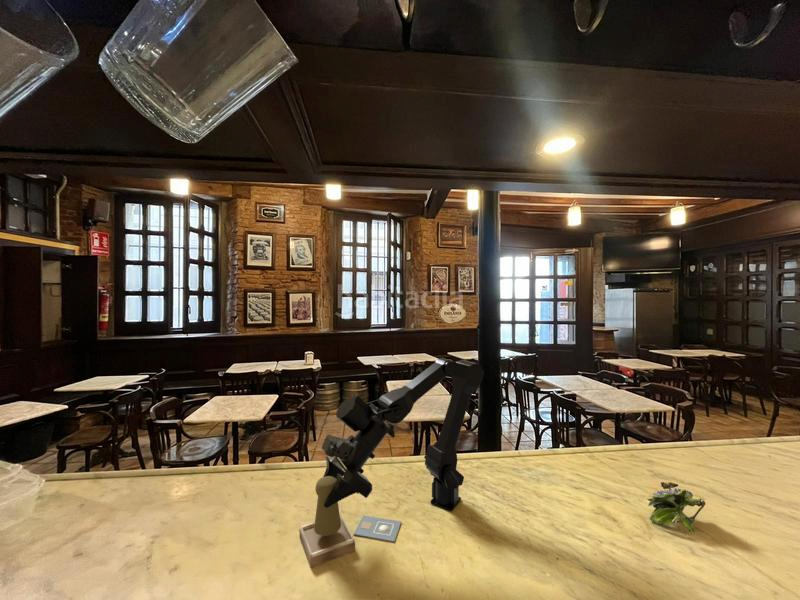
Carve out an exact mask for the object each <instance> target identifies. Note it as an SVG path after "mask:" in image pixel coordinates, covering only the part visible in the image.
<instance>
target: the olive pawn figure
mask: <svg viewBox="0 0 800 600" xmlns="http://www.w3.org/2000/svg"><path fill="white" fill-rule="evenodd" d="M336 483H337V479H336V478H335V477H332V476H325V477H323V476H322V477H320V478H319V479H318V480H317V481H316V484H315V493H316V495H317V501H316V502H317V503H316V510H315V517H314V522H315V525H314V530H315V532H316V533H317V534H318V535H322V536H329V535H332V534H334V533H336V532H337V531H338V530H339V529H340V527H341V521H340V515H341V513H340V508H339V501H338V502H337V503H335V504H333V505H331V506H329V507H328V508H326V507H324V505H323V504H324V502H325V501H326V499H327V497H328V496H329V494H330V493H331V491H332V489H333V488H334V486H335V485H336Z"/></svg>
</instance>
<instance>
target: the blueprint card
mask: <svg viewBox="0 0 800 600" xmlns="http://www.w3.org/2000/svg"><path fill="white" fill-rule="evenodd" d="M401 525H402V521H400V520H393V519H389V518H382V517H375V516H370V515H362V517H361V519H360V520H359V523H358V525H357V527H356V528H355V531H354V532H353V534H352V536H355V537H361V538H367V539H373V540H378V541H384V542H389V543H395V541H396V539H397V536H398V533H399V530H400V528H401Z"/></svg>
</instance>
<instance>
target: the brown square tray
mask: <svg viewBox="0 0 800 600" xmlns="http://www.w3.org/2000/svg"><path fill="white" fill-rule="evenodd" d="M340 521H341V527H340V529H339V530H338V531H337V532H336V533H334V534H332V535H329V536H322V535H318V534H317V533H316V532H315V530H314V525H315V521H314V522H311V523H307V524H304V525H302V526H299V540H300V543H301V545H302V548H303V551H304V554H305V557H306V560H307V561H308V565H309V568H313V567H316V566H318V565H321V564H324V563H327V562H329V561H332V560H335V559H338V558H340V557H342V556H345V555H347V554H350V553H354V552H355V551H356V541H355V538H354V535H353V534H352V532H351V530H350V529H349V527H348V526H347V523H346V522H345V519H344V518H343V517H342V515H341V514H340Z"/></svg>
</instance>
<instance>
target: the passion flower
mask: <svg viewBox="0 0 800 600" xmlns="http://www.w3.org/2000/svg"><path fill="white" fill-rule="evenodd" d="M660 487H661V488H663V489H664V490H662V489H661V490H660V491H659V490H656V492H653V493H652V496H651V498H650V497H646V500H647V501H649V502H648V505H647V507H650V506H652V507H653V508H654V509H653V511H652V512H651V514H650V516H649V521H650V520H651V521H652V522H653V524H661V525H662V526H671V525H673V524H675V523H677V522H679V521H681V523H682V524H683V525H684V527H686V528H687V529H688V533H689V532H690V533H691V532H692V533H695V532H696V531H695V529H694V526H693V524H694V522H695V520H696V517H697V516H698V515H699V513H700V511H701V510H702V509H704V507H705V505H706V502H705V499H704V498H701V497H698V498H693V496H694V495H693V494H692V492H691V491H688V490H686V489H685V488H684V489H680V488H678V489H677V488H676V487H679V484H678V483H674V482H672V481H668V482H664V481H662V482H660ZM672 488H673V489H674V490H673V489H672ZM687 506H689V507H695V506H697V507H699V508H698V509H697V511H696V512H695V513H694V515H692V516H691V517H689V516H687V515H686V514H685V513H684V512H683V511H684V509H685V508H686V507H687ZM651 521H650V522H651Z"/></svg>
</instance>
